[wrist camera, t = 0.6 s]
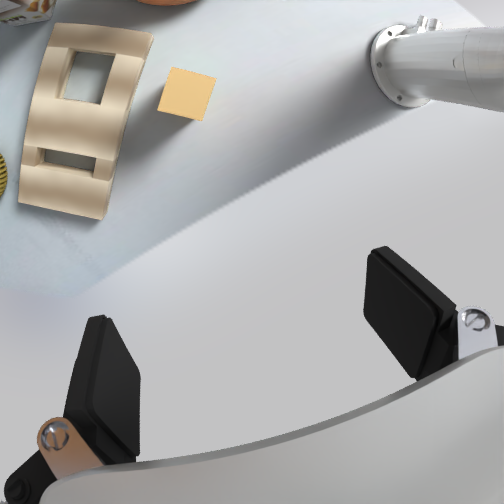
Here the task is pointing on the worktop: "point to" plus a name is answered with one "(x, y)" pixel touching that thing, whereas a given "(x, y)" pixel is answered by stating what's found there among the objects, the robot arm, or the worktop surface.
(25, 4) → the coffee box
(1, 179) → the sculpture
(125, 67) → the socket board
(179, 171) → the worktop surface
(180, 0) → the ceramic jug
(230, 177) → the worktop surface
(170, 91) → the peg
